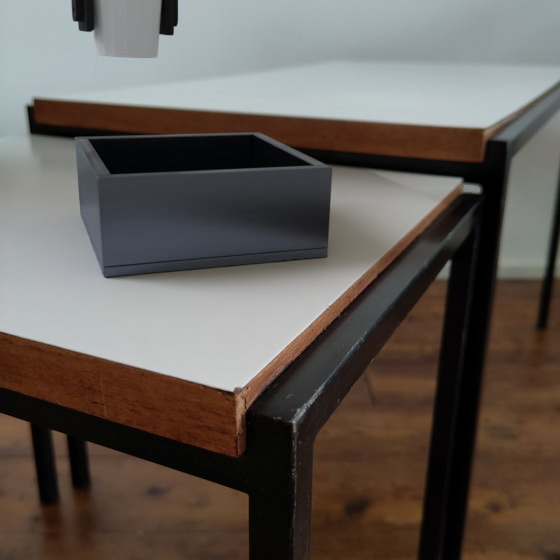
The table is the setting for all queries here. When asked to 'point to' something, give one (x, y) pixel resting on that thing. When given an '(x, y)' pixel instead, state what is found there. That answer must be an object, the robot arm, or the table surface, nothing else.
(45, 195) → the table surface
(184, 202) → the dark grey storage bin
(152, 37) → the white cup
